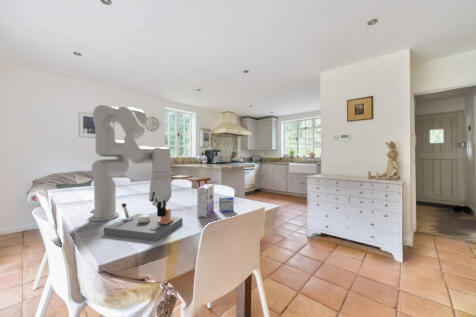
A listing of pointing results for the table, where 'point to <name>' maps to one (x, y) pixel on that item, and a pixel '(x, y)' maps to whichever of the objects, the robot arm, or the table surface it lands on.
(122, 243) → the table surface
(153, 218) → the control board
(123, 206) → the toggle lever
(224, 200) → the medicine box
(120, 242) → the table surface
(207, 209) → the candy box
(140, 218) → the push button
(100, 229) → the table surface
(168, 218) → the block
